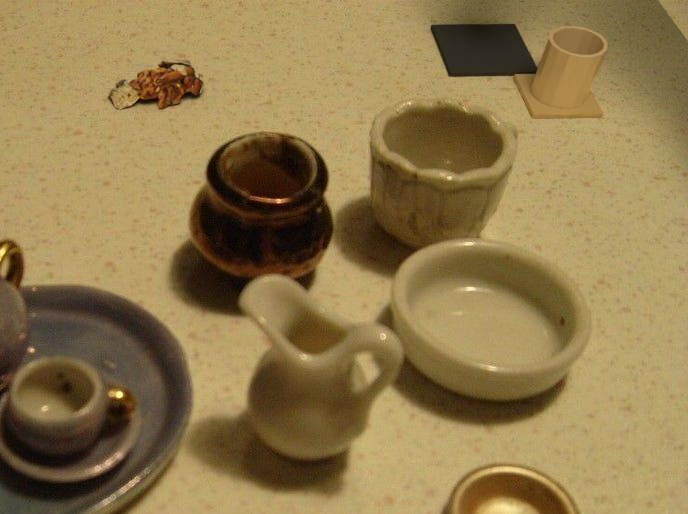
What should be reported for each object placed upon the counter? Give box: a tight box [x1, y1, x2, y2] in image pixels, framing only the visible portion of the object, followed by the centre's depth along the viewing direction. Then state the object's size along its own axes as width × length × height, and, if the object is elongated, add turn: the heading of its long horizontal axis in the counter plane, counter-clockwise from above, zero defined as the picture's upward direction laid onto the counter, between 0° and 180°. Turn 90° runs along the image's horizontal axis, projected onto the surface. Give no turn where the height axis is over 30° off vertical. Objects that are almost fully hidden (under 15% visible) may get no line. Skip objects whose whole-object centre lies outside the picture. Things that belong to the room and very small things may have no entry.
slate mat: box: [430, 23, 538, 77], centre depth 118 cm, size 12×12×1 cm
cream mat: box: [513, 74, 604, 119], centre depth 111 cm, size 9×9×1 cm
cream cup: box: [531, 25, 609, 109], centre depth 108 cm, size 7×7×8 cm
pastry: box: [107, 58, 205, 111], centre depth 109 cm, size 7×12×4 cm, turn 116°
